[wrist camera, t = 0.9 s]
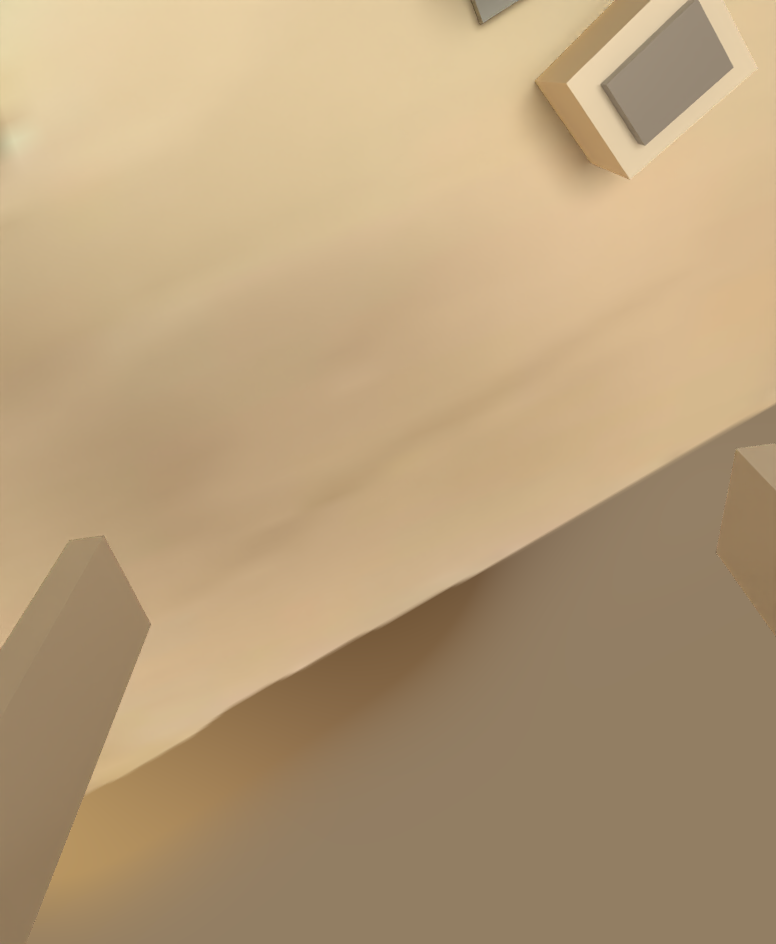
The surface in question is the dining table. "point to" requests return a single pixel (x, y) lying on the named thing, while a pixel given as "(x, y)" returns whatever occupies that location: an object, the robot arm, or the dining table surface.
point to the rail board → (490, 8)
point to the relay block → (645, 77)
